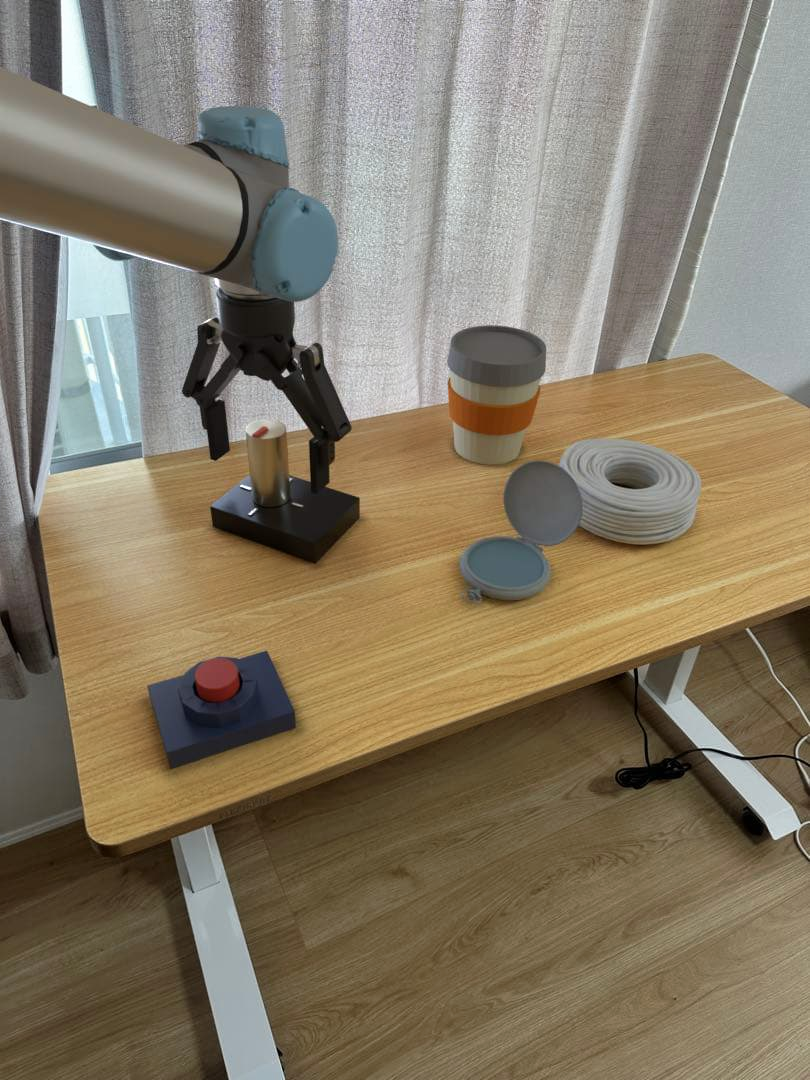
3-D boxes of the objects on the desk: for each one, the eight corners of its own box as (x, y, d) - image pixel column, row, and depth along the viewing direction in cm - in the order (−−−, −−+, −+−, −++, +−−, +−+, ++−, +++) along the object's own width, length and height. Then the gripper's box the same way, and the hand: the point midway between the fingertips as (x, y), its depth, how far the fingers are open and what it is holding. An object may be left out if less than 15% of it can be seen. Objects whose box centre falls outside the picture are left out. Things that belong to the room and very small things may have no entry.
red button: (202, 708, 68) (200, 694, 67) (192, 678, 70) (190, 664, 69) (244, 695, 69) (242, 681, 68) (233, 667, 71) (231, 653, 70)
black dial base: (212, 527, 94) (209, 504, 92) (262, 485, 101) (260, 464, 99) (315, 564, 89) (314, 541, 87) (359, 518, 96) (359, 496, 94)
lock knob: (266, 482, 96) (260, 412, 90) (297, 492, 94) (293, 422, 89) (244, 500, 93) (237, 429, 87) (276, 511, 91) (271, 440, 86)
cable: (521, 496, 101) (527, 454, 97) (615, 455, 110) (623, 416, 106) (628, 569, 90) (640, 526, 86) (723, 518, 99) (737, 477, 95)
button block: (170, 769, 67) (163, 738, 64) (150, 701, 73) (143, 671, 70) (296, 727, 71) (294, 697, 68) (268, 666, 77) (265, 636, 74)
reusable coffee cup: (432, 463, 106) (439, 358, 97) (450, 419, 116) (458, 319, 107) (527, 478, 104) (543, 372, 95) (537, 432, 114) (553, 331, 105)
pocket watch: (596, 479, 85) (519, 544, 75) (578, 559, 91) (506, 629, 82) (516, 445, 89) (434, 503, 80) (505, 524, 96) (428, 586, 87)
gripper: (128, 274, 80) (160, 456, 93) (346, 326, 72) (347, 519, 85) (178, 253, 86) (201, 428, 98) (385, 300, 77) (381, 485, 90)
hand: (269, 471), depth 92 cm, fingers open, 13 cm apart
